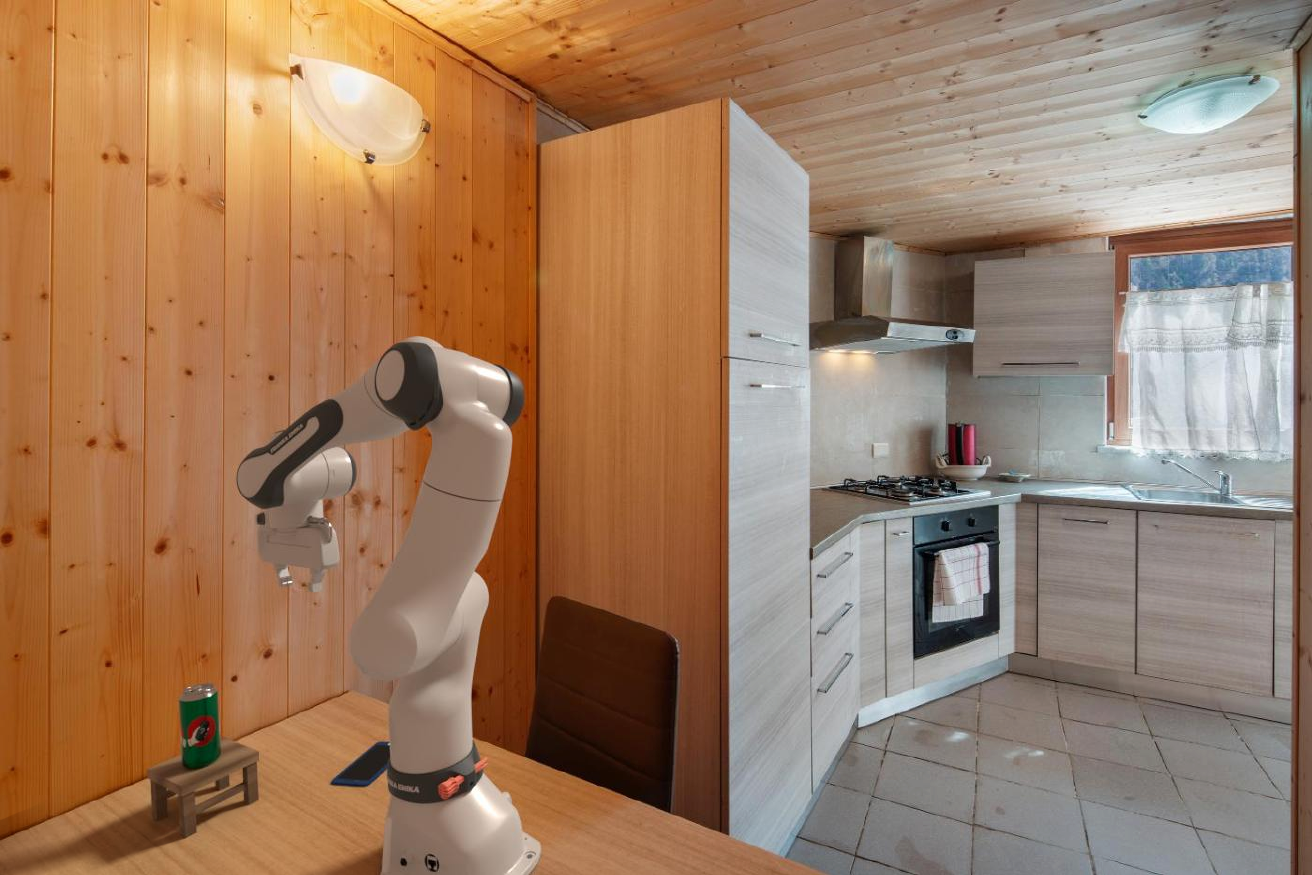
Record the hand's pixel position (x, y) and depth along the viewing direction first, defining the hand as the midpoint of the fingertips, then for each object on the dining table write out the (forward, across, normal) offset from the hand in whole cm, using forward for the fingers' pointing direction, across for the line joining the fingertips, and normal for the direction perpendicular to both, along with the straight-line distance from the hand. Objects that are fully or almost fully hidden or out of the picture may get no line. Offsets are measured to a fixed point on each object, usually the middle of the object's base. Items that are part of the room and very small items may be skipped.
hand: (300, 588), depth 116 cm
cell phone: (+32, -15, -3) cm, 35 cm away
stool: (+31, -2, +18) cm, 36 cm away
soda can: (+23, -3, +18) cm, 30 cm away
